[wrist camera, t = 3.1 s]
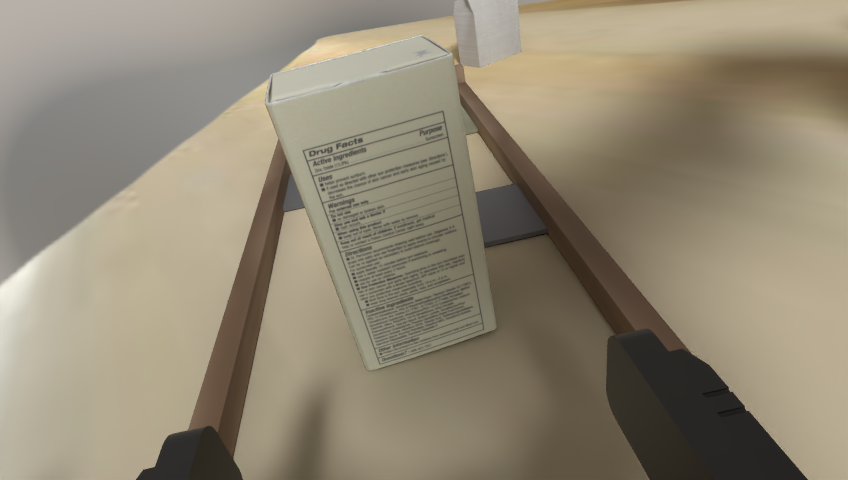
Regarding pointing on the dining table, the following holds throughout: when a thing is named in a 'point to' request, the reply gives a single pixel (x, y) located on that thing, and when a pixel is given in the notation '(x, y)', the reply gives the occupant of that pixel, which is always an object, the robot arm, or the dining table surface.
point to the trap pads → (498, 212)
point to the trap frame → (250, 287)
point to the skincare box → (389, 194)
